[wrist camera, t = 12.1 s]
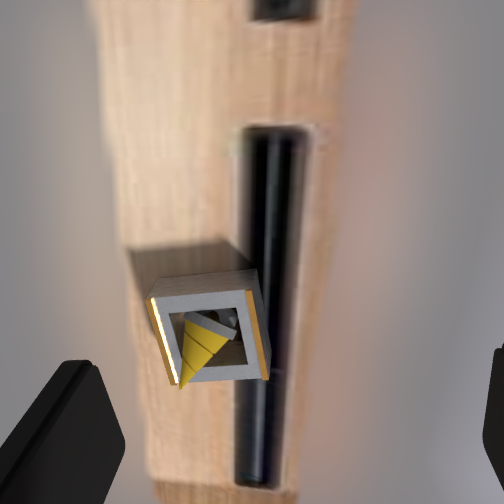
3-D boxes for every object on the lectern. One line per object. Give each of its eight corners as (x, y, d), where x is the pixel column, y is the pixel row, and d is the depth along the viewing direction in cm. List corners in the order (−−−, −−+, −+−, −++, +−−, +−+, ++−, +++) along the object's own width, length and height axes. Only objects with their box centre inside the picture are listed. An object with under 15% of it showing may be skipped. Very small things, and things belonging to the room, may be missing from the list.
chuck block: (158, 278, 43) (144, 300, 39) (256, 268, 41) (251, 290, 38) (181, 358, 47) (170, 385, 43) (271, 352, 45) (268, 379, 42)
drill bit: (253, 307, 44) (212, 400, 42) (208, 287, 45) (166, 376, 44) (242, 299, 39) (195, 404, 37) (192, 277, 40) (144, 377, 38)
